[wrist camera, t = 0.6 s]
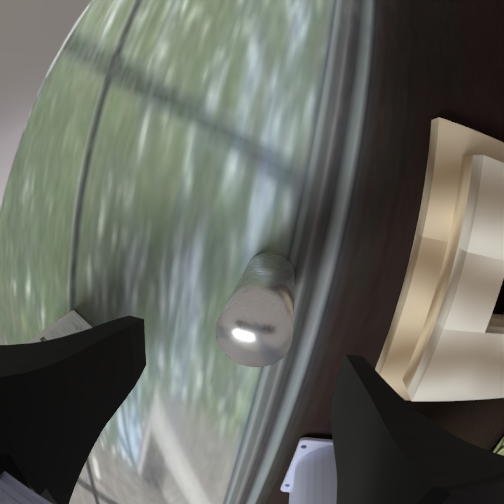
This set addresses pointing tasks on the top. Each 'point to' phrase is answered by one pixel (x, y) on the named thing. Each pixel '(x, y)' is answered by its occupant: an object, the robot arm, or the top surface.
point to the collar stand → (453, 276)
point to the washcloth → (500, 447)
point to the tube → (259, 313)
